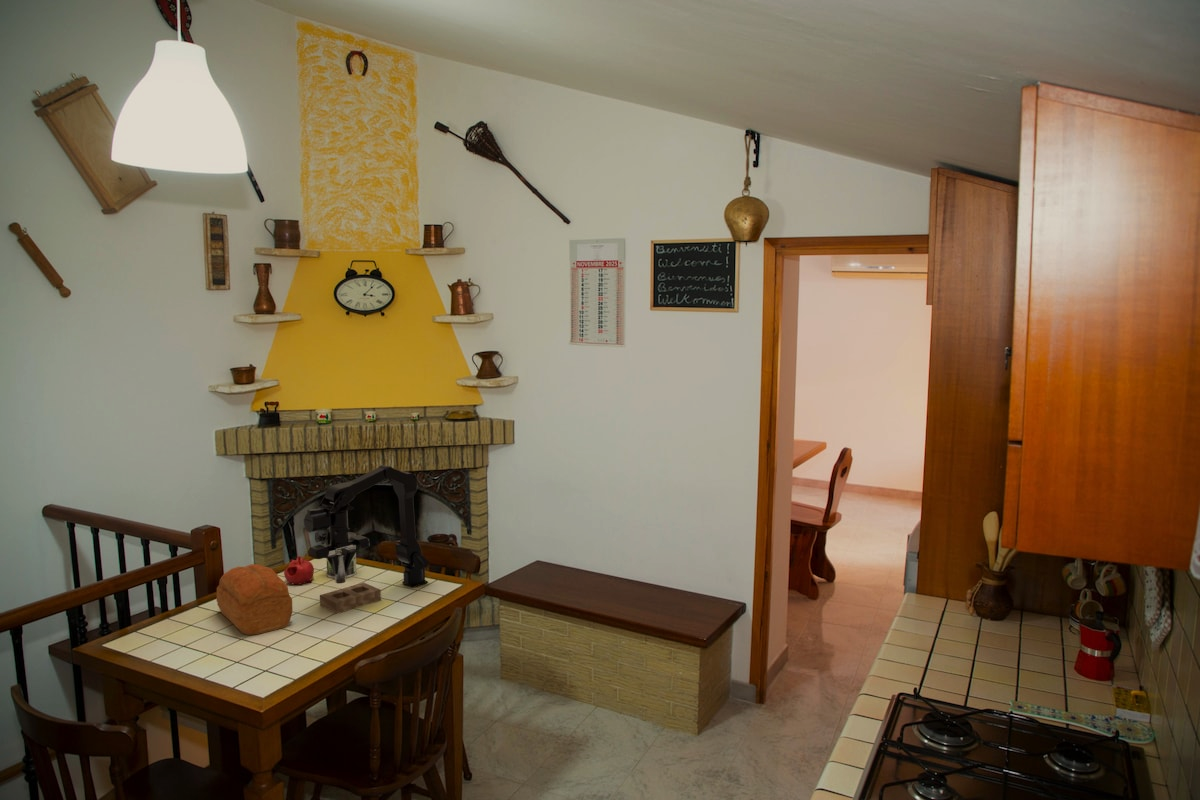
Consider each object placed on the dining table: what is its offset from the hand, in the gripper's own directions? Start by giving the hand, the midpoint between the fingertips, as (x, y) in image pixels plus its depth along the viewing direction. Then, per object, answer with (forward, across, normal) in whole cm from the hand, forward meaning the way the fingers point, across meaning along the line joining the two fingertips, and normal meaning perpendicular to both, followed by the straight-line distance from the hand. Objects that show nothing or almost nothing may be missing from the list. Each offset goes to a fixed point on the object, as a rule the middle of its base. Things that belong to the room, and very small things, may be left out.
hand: (340, 572), depth 261 cm
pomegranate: (+11, -2, -31) cm, 33 cm away
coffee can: (+11, -16, -27) cm, 33 cm away
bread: (+11, +24, -10) cm, 28 cm away
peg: (+3, 0, 0) cm, 3 cm away
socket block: (+11, -3, 0) cm, 11 cm away
